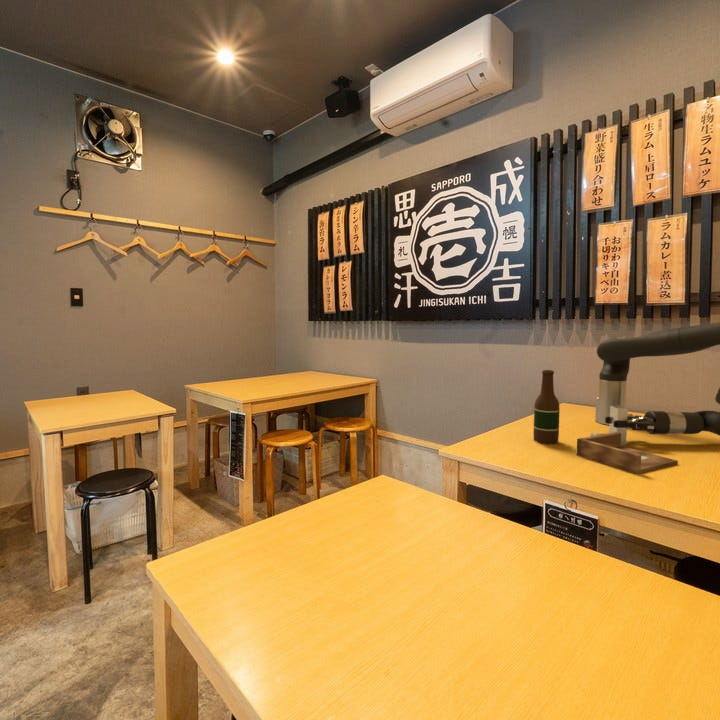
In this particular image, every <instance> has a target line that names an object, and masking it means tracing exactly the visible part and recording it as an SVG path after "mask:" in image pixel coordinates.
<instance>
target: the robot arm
mask: <svg viewBox="0 0 720 720" xmlns="http://www.w3.org/2000/svg"><path fill="white" fill-rule="evenodd" d="M719 345H720V322H712V323H706V324H705V323H703V324H696V325H691V326H690V325H689V326H683V327H682V326H681V327H675V328H669V329H664V330H660V331H655V332H653V333H652V332H651V333H648V334H644V335H641V336H636V337H628V338H627V337H626V338H607V339H605V340H603V341H601V342H600V344H598V346H597V349H596V354H597V357H598V358H599V359H600V360H602V362H603V365H602V368H601V370H600V372H599V375H598V377H599V381H598V382H599V383H598V397H596V399H595V417H594V418H595V419H594V421H595V422H597V423H599V424H600V425H605V424H606V426H609V425H610V406H622V407H624V408H627V407H626V404H627V403H626V401H627V386H628V385H627V384H628V383H627V381H628V379H627V378H628V375H629V372H630V364H631V363H630V362H631V359H635V358H641V357H643V358H645V357H667V356H678V355H679V356H680V355H685V354H692V353H697V352H700V351H703V350H706V349H709V348H712V347H715V346H719ZM714 401H715V402H716V403H717V404H718V405H720V387H719V389H718V390H717V393H716V395H715V400H714ZM613 426H614V427H615V428H626V427H627V430H630V429H631V430H632V431H642V432H647V434H650V435H670V436H671V435H696V434H699V433H701V432H708V433H712V434H714V435H717V436H720V411H717V410H701V411H693V412H691V411H689V412H688V411H686V412H685V411H673V410H670V411H669V410H668V411H667V410H664V411H663V410H662V411H661V410H647V412H646V413H645V414H644V416H642V415H638V414H637V415H633V414H632V413H629V414H627V421H617V420H615V421H614V422H613Z"/></svg>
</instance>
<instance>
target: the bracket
mask: <svg viewBox="0 0 720 720" xmlns="http://www.w3.org/2000/svg"><path fill="white" fill-rule="evenodd" d="M628 413H629V411H628V408H627V407H625V408H624V407H622V406H610V425H608V426H609V428H608V433H614V432H619V433H621V446H627V435H628V434H627V433H628V432H627V430H628V428H627V427H626V428H615V427H614V426H613V422H614V421H615V420H617V421H627V415H628ZM603 434H604V433H599V432H598V433H594V432H593V433H591V432H590V434H589V437H591V436H597V435H603Z"/></svg>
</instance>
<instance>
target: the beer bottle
mask: <svg viewBox="0 0 720 720" xmlns="http://www.w3.org/2000/svg"><path fill="white" fill-rule="evenodd" d="M541 375H542V378H541V379H542V380H541V388H540V393H539V395H538V396H537V398H536V399H535V402H534V408H533V409H534V410H533V441H535V442H536V441H537V442H536V443H538V442H539V444H543V443H545V444H544V445H555V444H558V442H559V437H560V436H559V435H560V434H559V433H560V412H561V411H560V402H559V400H558V398H557V396H556V395H555V390H554V389H555V387H554V375H555V372H554V370H552V369H543V370H542V372H541Z"/></svg>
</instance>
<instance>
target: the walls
mask: <svg viewBox="0 0 720 720" xmlns="http://www.w3.org/2000/svg"><path fill="white" fill-rule="evenodd" d="M602 434H603V435H597V436H591V437H590V436H586V437H580V438H577V441H576V453H577V452H579V453H582V454H585V455H588V456H592V457H595V458H598V459H601V460H605V461H608V462H611V463H614V464H618V465H621V466H624V467H627V468H630V469H634V470H641V455H640V454H636V453H633V452H629V451H625V450H622V449H618V448H614V447H616V446H622V445H621V433H619V432H614V433H609V432H608V433H602Z"/></svg>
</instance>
